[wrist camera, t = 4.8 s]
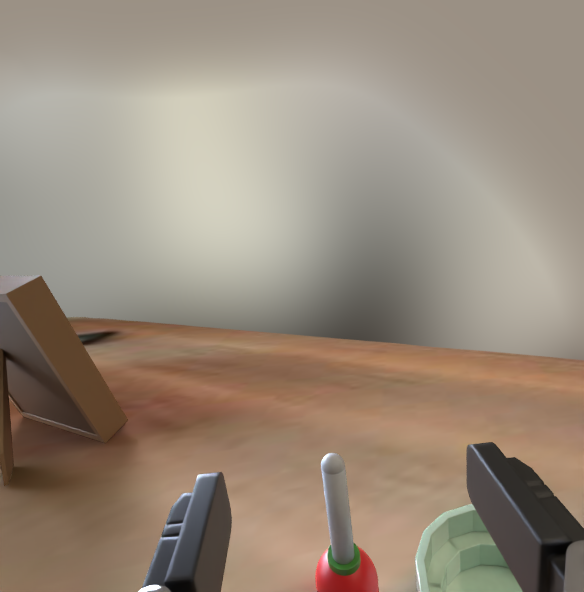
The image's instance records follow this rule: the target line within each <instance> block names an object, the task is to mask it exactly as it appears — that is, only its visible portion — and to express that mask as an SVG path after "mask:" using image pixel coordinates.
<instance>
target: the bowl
mask: <svg viewBox="0 0 584 592" xmlns="http://www.w3.org/2000/svg"><path fill="white" fill-rule="evenodd" d="M415 561H416V581H417V592H523V591H522V589H521V587H520V586H519V584H518V582H517V580H516V579H515V577H514V575H513V574H512V572H511V570H510V568H509V567H508V565H507V563H506V561H505V560H504V558H503V556H502V555H501V553H500V551H499V549H498V548H497V546H496V544H495V542H494V541H493V539H492V537H491V535H490V534H489V532H488V530H487V529H486V527H485V525H484V523H483V522H482V520H481V518H480V516H479V515H478V513H477V511H476V510H475V508H474V506H473V504H469V505H466V506H463V507H460V508H457V509H453V510H450V511H447V512H444V513H442V514H441V515H440V516H439V517H438V518H437V519H436V520H435V521H434V522H433V523H432V524H431V525H429V526H428V527H427V528H426V529H425V530H424V532H423V535H422V538H421V541H420V544H419V548H418V551H417V554H416V559H415Z"/></svg>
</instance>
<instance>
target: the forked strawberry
mask: <svg viewBox="0 0 584 592" xmlns="http://www.w3.org/2000/svg"><path fill="white" fill-rule="evenodd" d="M321 470H322V477H323V485H324V493H325V501H326V508H327V516H328V524H329V532H330V540H331V545H330V547H329V548H328V549H327V550H326V551H325V552H324V553H323V555H322V556H321V558H320V560H319V562H318V565H317V569H316V588H317V592H379V588H378V577H377V572H376V569H375V567H374V564H373V562H372V560H371V559H370V557H369V556H368V555H367V554H366V553H365V552H364V551H363V550H362V549H361V548H359V547H358V546H356V545H355V544H354V543H353V535H352V525H351V516H350V507H349V498H348V488H347V479H346V470H345V463H344V460H343V458H342V457H341V456H340V455H338V454H336V453H329V454H327V455H326V456H325V457H324V458H323V459H322V462H321Z"/></svg>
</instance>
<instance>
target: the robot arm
mask: <svg viewBox="0 0 584 592" xmlns="http://www.w3.org/2000/svg"><path fill="white" fill-rule="evenodd" d="M467 489H468V493H469V497H470V499H471V502H472V504H473V506H474V508H475V510H476V511H477V513H478V515H479V516H480V518H481V520H482V522H483V523H484V525H485V527H486V529H487V530H488V532H489V534H490V535H491V537H492V539H493V541H494V542H495V544H496V546H497V548H498V549H499V551H500V553H501V555H502V556H503V558H504V560H505V561H506V563H507V565H508V567H509V568H510V570H511V572H512V574H513V575H514V577H515V579H516V580H517V582H518V584H519V586H520V587H521V589H522V591H523V592H584V528H583V527H582V526H581V525H580V524H579V523H578V521H577V520H576V519H575V518H574V517H573V516H572V515H571V513H570V512H569V511H568V510H567V509H566V508H565V506H564V505H563V504H562V503H561V502H560V501H559V499H558V498H557V497H556V496H554V495H553V492H552V491H551V490H550V489H549V488H548V487H547V486H546V485H544V482H543V481H542V480H541V479H540V477H539V476H538V475H537V474H536V473H535V472H534V470H533V469H532V468H530V467H529V466H527V465H526V464H524V463H523V462H521V461H520V460H518V459H517V458H515V457H513V458H506V457H505V456H504V454H503V453H502V452H501V451H500V449H499V448H498V447H497V446H496V445H495V444H494V443H493V442H489V443H480V444H471V445H468V446H467ZM231 524H232V517H231V508H230V503H229V499H228V494H227V489H226V485H225V480H224V476H223V473H222V472H217V473H208V474H200V475H198V477H197V480H196V483H195V486H194V489H193V493H184V494H182V495H181V496H180V498H179V499H178V500H177V501H176V503H175V504H174V505H173V506H172V508H171V511H170V513H169V516H168V519H167V521H166V525H165V527H164V530H163V532H162V537H161V538H160V540H159V543H158V546H157V549H156V551H155V554H154V557H153V559H152V562H151V565H150V568H149V570H148V573H147V576H146V578H145V581H144V584H143V586H142V589H141V590H140V591H138V592H221V586H222V581H223V575H224V569H225V563H226V557H227V551H228V545H229V539H230V534H231Z"/></svg>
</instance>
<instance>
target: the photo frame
mask: <svg viewBox="0 0 584 592" xmlns="http://www.w3.org/2000/svg"><path fill="white" fill-rule="evenodd" d="M9 399H10V400H11V402H12V403H13V404H14V406H15V407H16V408H17V409H18V411H19V412H20V413H21V415H22V416H23V417H26V418H29V419H32V420H35V421H38V422H41V423H44V424H47V425H51V426H54V427H57V428H60V429H63V430H66V431H69V432H72V433H75V434H78V435H81V436H84V437H88V438H91V439H94V440H97V441H100V442H103V443H106V442H107V441H108V440H109V439H110V438H111V437H112V436H113V435H114V434H115V433H116V432H117V431H118V430H119V429H120V428H121V427H122V426H123V425H124V424H125V423H126V422H127V421H128V419H127V417H126V416H125V414H124V412H123V411H122V409H121V407H120V406H119V404H118V402H117V401H116V399H115V397H114V396H113V394H112V392H111V391H110V389H109V387H108V386H107V384H106V382H105V381H104V379H103V378H102V376H101V374H100V373H99V371H98V369H97V368H96V366H95V364H94V363H93V361H92V359H91V358H90V356H89V354H88V353H87V351H86V349H85V348H84V346H83V344H82V343H81V341H80V339H79V338H78V336H77V334H76V333H75V331H74V329H73V328H72V326H71V324H70V323H69V321H68V319H67V318H66V316H65V314H64V313H63V311H62V310H61V308H60V306H59V305H58V303H57V301H56V300H55V298H54V296H53V295H52V293H51V292H50V290H49V288H48V286H47V285H46V283H45V281H44V280H43V278H42V276H0V463H1V469H2V475H3V481H4V486H5V485H9V481H10V477H11V474H12V470H13V466H14V464H13V450H12V436H11V422H10V408H9Z"/></svg>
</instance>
